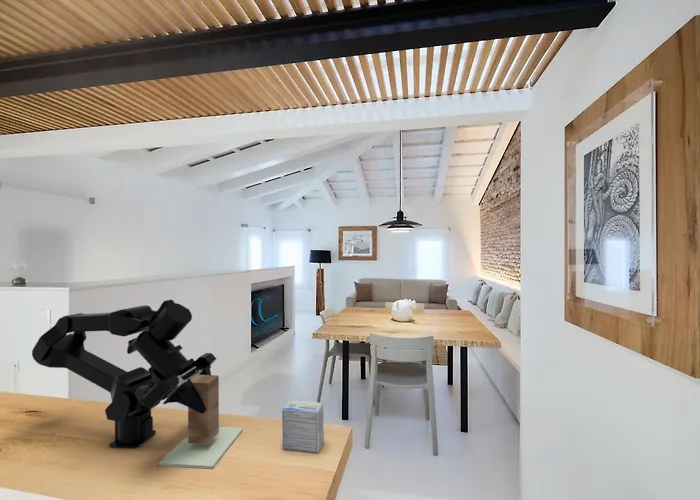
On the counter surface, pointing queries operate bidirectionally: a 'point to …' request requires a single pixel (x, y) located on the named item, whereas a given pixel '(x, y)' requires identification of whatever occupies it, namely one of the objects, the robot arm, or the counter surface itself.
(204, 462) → the rubber mat
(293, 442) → the medicine box
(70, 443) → the counter surface
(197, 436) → the walnut block
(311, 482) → the counter surface
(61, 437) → the counter surface
